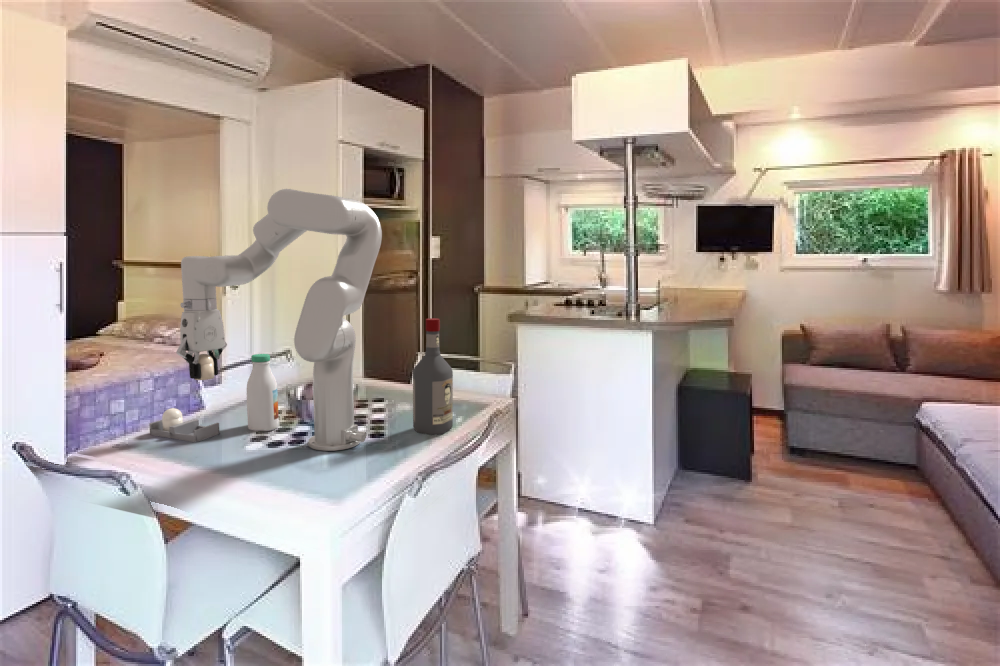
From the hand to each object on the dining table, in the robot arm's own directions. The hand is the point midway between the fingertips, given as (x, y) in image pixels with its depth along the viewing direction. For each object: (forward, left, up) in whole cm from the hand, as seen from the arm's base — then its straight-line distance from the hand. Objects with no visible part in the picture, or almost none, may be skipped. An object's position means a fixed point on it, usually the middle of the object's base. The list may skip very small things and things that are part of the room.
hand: (204, 375), depth 156 cm
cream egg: (+7, +4, -15) cm, 17 cm away
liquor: (-52, -27, -16) cm, 60 cm away
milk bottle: (-10, -9, -16) cm, 21 cm away
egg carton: (+3, +4, -15) cm, 16 cm away
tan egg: (0, 0, -1) cm, 1 cm away
